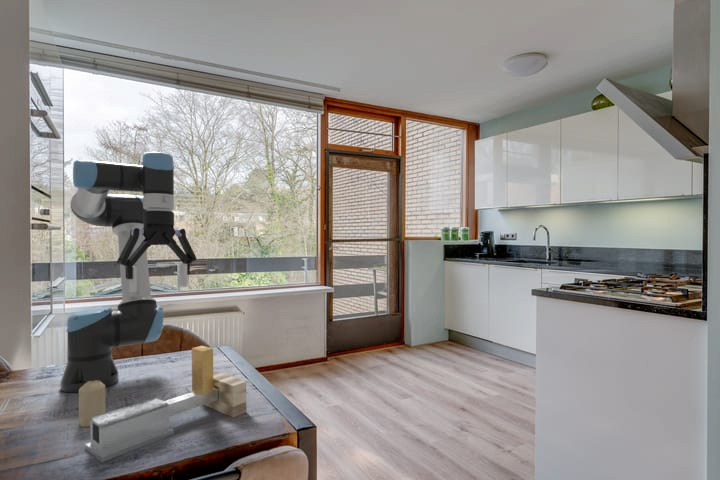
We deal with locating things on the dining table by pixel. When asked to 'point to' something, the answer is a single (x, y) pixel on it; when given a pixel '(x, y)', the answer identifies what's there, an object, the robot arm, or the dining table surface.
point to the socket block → (229, 395)
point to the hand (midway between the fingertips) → (159, 289)
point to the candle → (91, 401)
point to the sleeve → (128, 429)
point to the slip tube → (197, 383)
